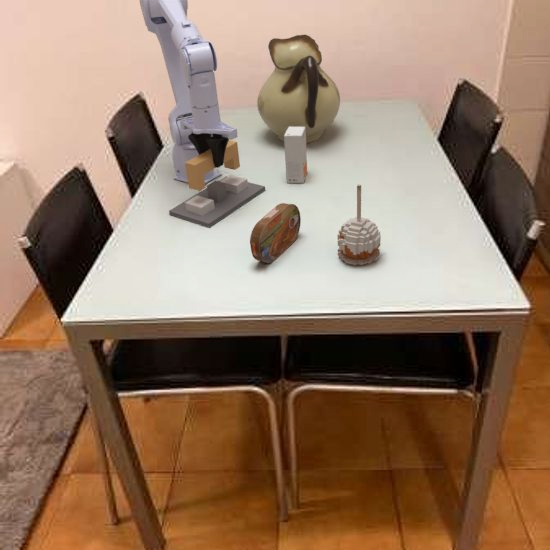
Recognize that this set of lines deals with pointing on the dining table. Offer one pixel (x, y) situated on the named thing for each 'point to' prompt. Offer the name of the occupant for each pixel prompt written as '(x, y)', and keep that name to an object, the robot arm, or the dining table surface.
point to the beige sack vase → (298, 89)
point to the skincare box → (295, 154)
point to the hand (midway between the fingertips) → (213, 164)
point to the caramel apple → (359, 238)
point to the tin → (275, 232)
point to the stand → (217, 201)
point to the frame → (209, 165)
